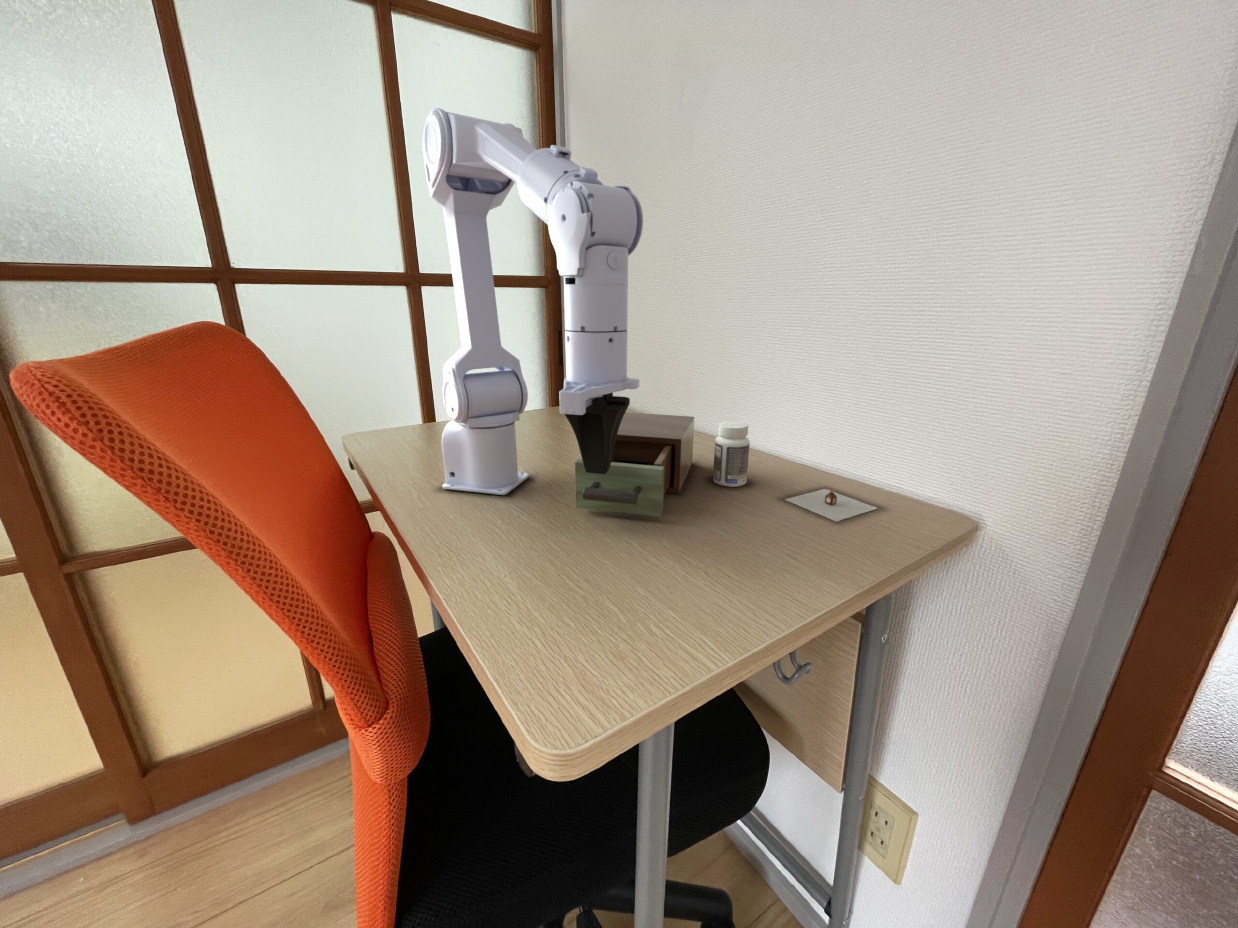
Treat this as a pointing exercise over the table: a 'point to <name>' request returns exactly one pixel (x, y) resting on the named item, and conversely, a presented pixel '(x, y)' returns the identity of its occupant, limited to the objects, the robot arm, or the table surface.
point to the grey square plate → (831, 504)
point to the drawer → (628, 480)
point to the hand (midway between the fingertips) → (597, 471)
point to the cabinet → (663, 439)
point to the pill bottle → (731, 454)
